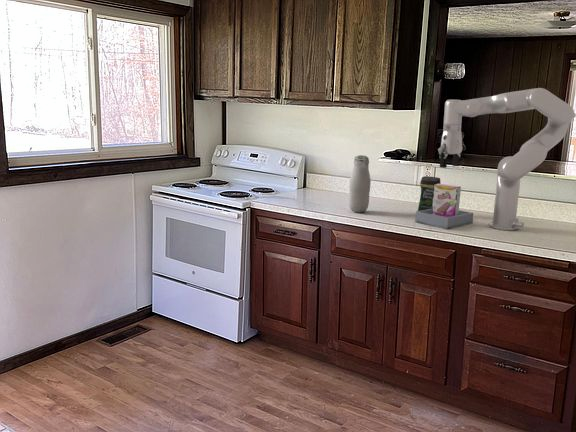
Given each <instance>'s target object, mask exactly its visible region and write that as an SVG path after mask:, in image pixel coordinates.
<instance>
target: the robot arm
mask: <svg viewBox="0 0 576 432" xmlns="http://www.w3.org/2000/svg"><path fill="white" fill-rule="evenodd" d="M530 110H537V112H539V113H541V114H542V115H543V116H544V117H547V123H546V125H545V126H544V127H543V129H541V130H540V131H539V132H538V133H537V134H535V135H534V136H533V137H531V138H530V139H528V140H527V141H525V142H524V143H523V144H522V145H521V147H520V148H519V151H518V152H517V153H514V155H513V156H511V155H510V156H506V157H505V156H504V157H503V158H502V159H501V160H500V161H499V162H498V165H497V170H496V171H497V173H496V187H495V188H496V189H495V198H494V207H493V215H492V221H491V222H488V226H489V227H490V228H492V229H496V230H503V231H517V230H519V229H520V228H524V226H525V224H524V223H525V222H523V221H519V218H517V214H518V212H517V211H518V205H519V196H520V187H521V179H522V178H524V177H525V176H526V175H528V174H529V173H531V172H532V171H533V170H535V169H536V168H537V167H538V166H539V165H541V164H542V163H543V162H544V161H545V159H546V158H547V155H548V152H549V151H550V150H551V149H552V148H554V147H555V146H556V145H558V144H559V143H560V142H561V141H562V140H563V139H564V138H565V136H566V134H567V132H568V129H569V124H570V123H571V122H572V121H573V119H574V117H575V110H574V107H572V106H571V105H570V104H568V103H567V102H565V101H564V100H563V99H561V98H559V97H558V96H557V95H555V94H553V93H552V92H550V91H549V90H548V89H546V88H543V87H537V88H536V87H535V88H529V89H523V90H517V91H510V92H509V91H508V92H503V93H499V94H494V95H492V96H491V95H490V96H485V97H484V96H483V97H478V98H472V99H471V98H470V99H465V100H464V99H463V100H461V99H447V100H446V101H445V102H444V115H443V127H442V128H443V129H442V131H443V132H442V136H441V142H440V147H439V148H437V151H438V156H439V168H442V169H443V168H444V169H445V168H447V165H448V159H447V157H448V155H453V157H452V164H451V165H452V167H459V166H460V158H461V155H462V153H463V148H464V147H463V145H462V144H463V136H462V122H463V121H462V118H463V117H469V118H474V117H478V116H482V115H488V114H509V113H516V112H522V111H523V112H524V111H530Z"/></svg>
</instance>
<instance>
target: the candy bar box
mask: <svg viewBox="0 0 576 432" xmlns="http://www.w3.org/2000/svg"><path fill="white" fill-rule="evenodd" d="M461 189H462V187H461V186H460V185H459V186H458V185H452V184H451V185H450V184H444V183H441V184H435V185H434V192H433V204H432V214H433V215H437V216H442V217H447V218H448V217H453V216H457V215H458V213H459V210H460V201H461V191H462V190H461Z"/></svg>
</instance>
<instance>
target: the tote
mask: <svg viewBox="0 0 576 432" xmlns="http://www.w3.org/2000/svg"><path fill="white" fill-rule="evenodd" d="M414 220H415V221H414V223H417V224H421V225H426V226H431V227H435V228H438V229H443V230H451V229H455V228H460V227H463V226H467V225H471V224H473V220H474V212H471V211H466V210H460V209H459V213H458V215H457V216H453V217H448V218H447V217H442V216H437V215H433V214H432V209H427V210H422V211H418V210H417V211H415V219H414Z"/></svg>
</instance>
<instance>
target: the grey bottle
mask: <svg viewBox="0 0 576 432" xmlns="http://www.w3.org/2000/svg"><path fill="white" fill-rule="evenodd" d="M353 164H354V165H353V167H352V172H351V174H350V178H349V187H348V190H349V191H348V207H349V209H350V210H351V211H352V212H355V213H365V212H366V211H367V210H368V208H369V206H370V205H369V204H370V194H371V193H370V191H371V182H372V181H371V175H370V169H369V164H370V159H369V157H368V156H367V155H360V154H359V155H356V156H354V159H353Z"/></svg>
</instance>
